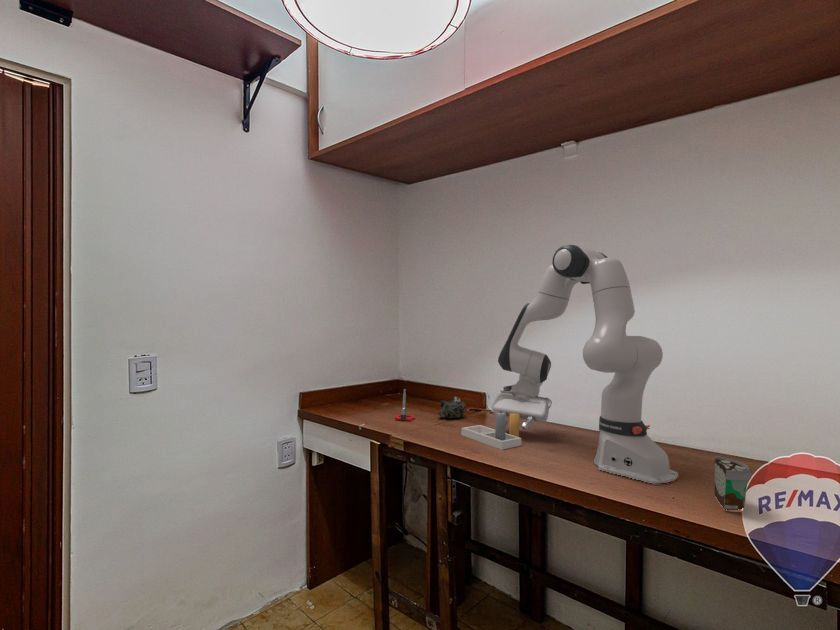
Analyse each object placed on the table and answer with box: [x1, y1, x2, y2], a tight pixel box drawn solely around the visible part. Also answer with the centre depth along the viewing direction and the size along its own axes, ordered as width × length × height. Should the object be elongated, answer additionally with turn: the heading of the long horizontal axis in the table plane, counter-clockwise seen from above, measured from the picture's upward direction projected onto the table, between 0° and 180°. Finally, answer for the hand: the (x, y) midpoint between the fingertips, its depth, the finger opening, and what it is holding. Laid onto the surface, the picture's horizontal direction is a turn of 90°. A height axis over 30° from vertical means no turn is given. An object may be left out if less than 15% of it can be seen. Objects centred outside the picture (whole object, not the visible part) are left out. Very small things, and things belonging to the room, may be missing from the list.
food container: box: [713, 455, 752, 510], centre depth 107 cm, size 12×6×10 cm, turn 158°
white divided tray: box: [461, 424, 522, 451], centre depth 154 cm, size 20×9×4 cm, turn 35°
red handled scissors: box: [394, 388, 416, 422], centre depth 187 cm, size 8×13×9 cm
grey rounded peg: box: [495, 413, 507, 441], centre depth 151 cm, size 4×4×10 cm
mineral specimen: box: [436, 396, 467, 420], centre depth 193 cm, size 15×13×10 cm
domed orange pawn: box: [508, 413, 521, 438], centre depth 157 cm, size 4×4×10 cm
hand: (513, 426), depth 156 cm, fingers open, 6 cm apart
